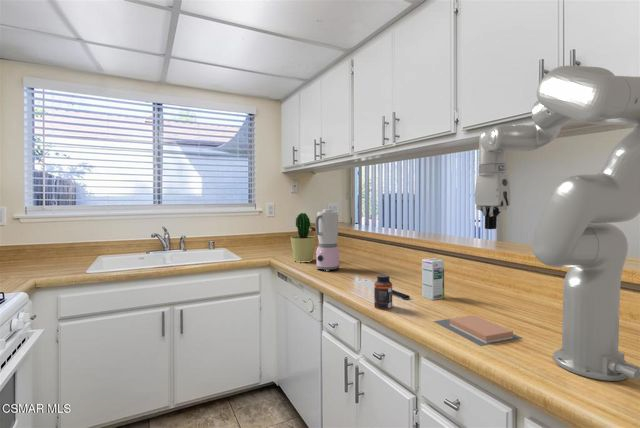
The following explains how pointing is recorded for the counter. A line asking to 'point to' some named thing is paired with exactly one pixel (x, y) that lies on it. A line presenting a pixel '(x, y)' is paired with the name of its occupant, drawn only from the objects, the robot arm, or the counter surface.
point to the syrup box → (433, 278)
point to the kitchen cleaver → (370, 285)
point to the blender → (327, 240)
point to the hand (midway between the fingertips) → (490, 228)
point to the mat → (447, 325)
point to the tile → (481, 328)
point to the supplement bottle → (383, 293)
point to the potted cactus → (303, 240)
